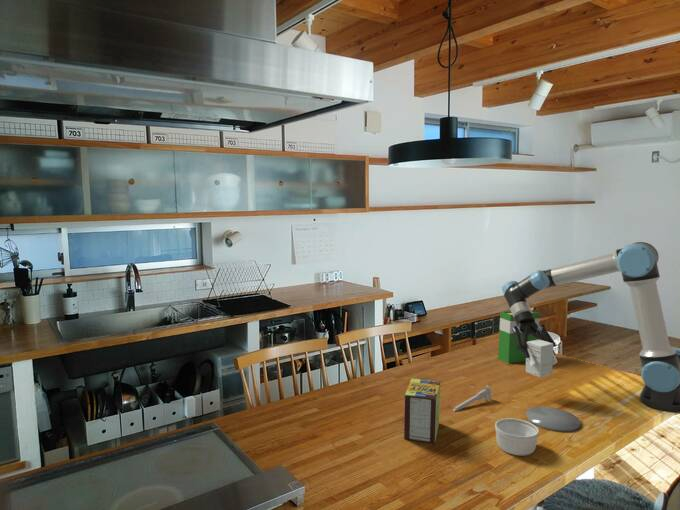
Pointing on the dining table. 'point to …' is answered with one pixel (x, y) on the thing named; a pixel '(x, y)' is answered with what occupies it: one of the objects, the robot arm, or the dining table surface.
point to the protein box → (422, 410)
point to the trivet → (553, 419)
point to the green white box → (511, 338)
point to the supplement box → (540, 358)
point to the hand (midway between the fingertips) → (544, 364)
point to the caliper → (475, 398)
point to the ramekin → (516, 436)
